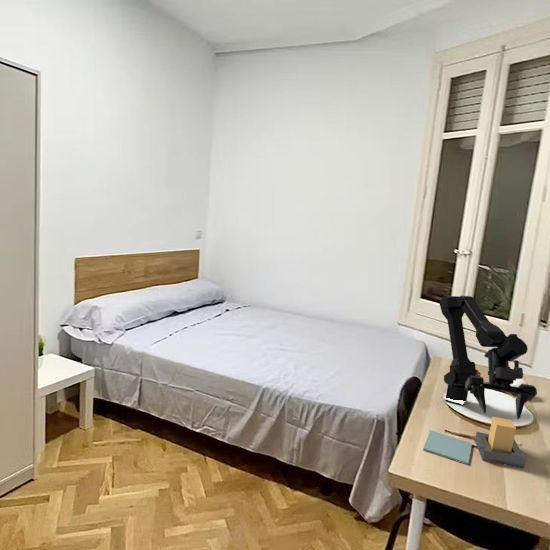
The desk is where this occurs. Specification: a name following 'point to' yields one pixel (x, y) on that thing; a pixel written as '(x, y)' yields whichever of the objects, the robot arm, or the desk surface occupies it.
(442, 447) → the rubber mat
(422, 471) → the desk surface
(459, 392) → the robot arm
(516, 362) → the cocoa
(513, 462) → the square-hole plate
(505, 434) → the ochre square block
